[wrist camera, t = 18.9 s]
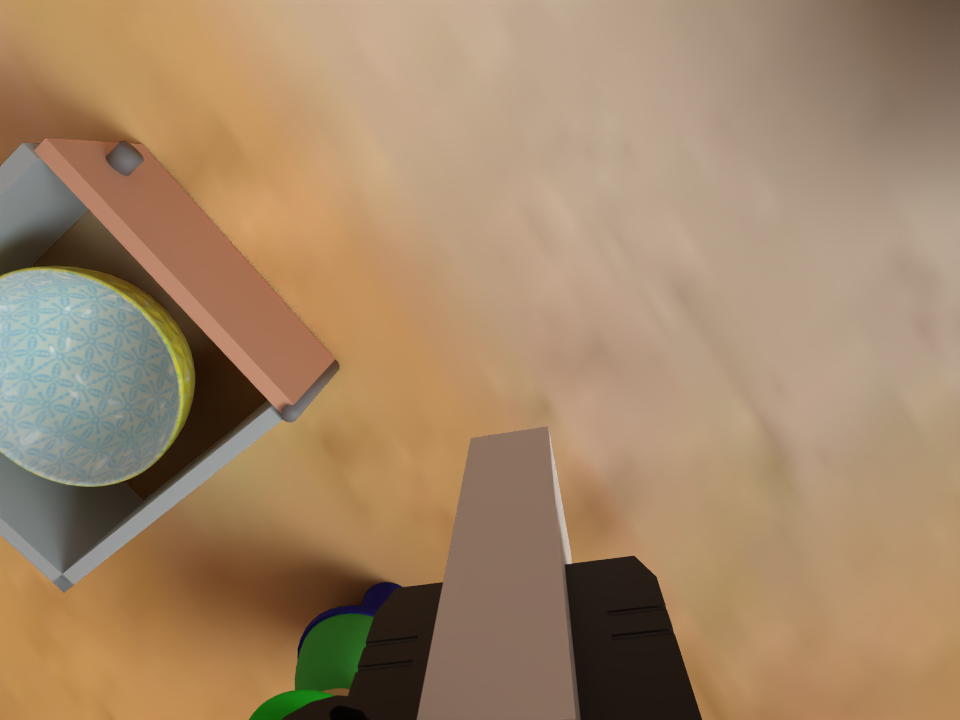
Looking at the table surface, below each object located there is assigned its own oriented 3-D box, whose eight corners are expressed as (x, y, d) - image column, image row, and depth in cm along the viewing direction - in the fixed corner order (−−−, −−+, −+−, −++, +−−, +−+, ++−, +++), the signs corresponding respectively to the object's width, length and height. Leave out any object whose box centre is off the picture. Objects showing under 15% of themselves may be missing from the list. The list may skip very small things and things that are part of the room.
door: (155, 131, 33) (57, 121, 26) (355, 356, 36) (316, 403, 29) (132, 153, 33) (30, 150, 26) (332, 375, 36) (289, 425, 29)
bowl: (254, 429, 38) (206, 478, 32) (73, 446, 39) (-6, 497, 33) (208, 239, 34) (146, 254, 29) (12, 262, 35) (-88, 281, 29)
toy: (377, 690, 43) (311, 951, 29) (279, 613, 42) (157, 849, 27) (466, 614, 41) (443, 855, 27) (366, 530, 39) (284, 738, 25)
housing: (128, 147, 33) (22, 142, 26) (326, 370, 36) (281, 420, 29) (-52, 326, 37) (-188, 365, 29) (144, 515, 40) (64, 592, 33)
